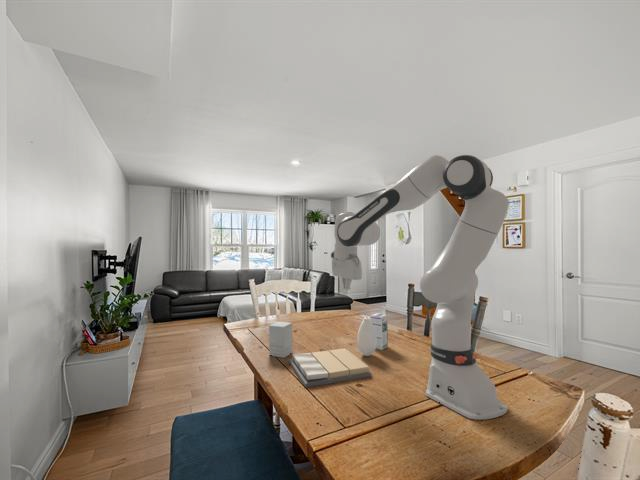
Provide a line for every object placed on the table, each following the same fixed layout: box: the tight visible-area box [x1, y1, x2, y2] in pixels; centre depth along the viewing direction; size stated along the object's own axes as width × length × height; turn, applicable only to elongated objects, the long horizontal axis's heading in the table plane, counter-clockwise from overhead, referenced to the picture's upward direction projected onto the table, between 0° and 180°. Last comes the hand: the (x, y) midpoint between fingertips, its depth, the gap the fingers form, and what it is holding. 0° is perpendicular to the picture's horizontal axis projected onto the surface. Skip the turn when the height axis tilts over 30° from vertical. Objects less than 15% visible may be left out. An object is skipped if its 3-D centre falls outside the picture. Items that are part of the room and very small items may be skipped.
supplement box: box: [268, 321, 293, 358], centre depth 126 cm, size 7×7×13 cm
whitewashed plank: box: [291, 352, 328, 380], centre depth 108 cm, size 20×7×2 cm, turn 20°
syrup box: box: [369, 312, 389, 351], centre depth 134 cm, size 6×6×14 cm
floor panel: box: [288, 348, 372, 388], centre depth 110 cm, size 22×24×3 cm
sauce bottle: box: [356, 311, 377, 357], centre depth 124 cm, size 8×8×18 cm
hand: (346, 289), depth 118 cm, fingers closed
